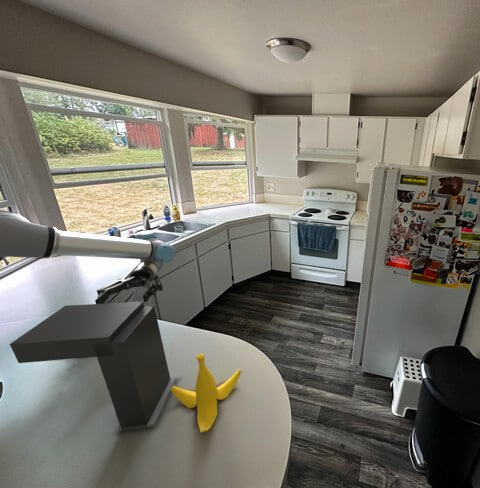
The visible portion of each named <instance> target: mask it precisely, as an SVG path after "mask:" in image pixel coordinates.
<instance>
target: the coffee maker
mask: <svg viewBox="0 0 480 488" xmlns="http://www.w3.org/2000/svg"><path fill="white" fill-rule="evenodd" d="M162 339H163V338H162V335H161V330H160V326H159V321H158V317H157V313H156V308H155V305H146V306H145V305H144V301H128V302H108V303H103V304H96V303H88V304H87V303H86V304H70V305H69V304H68V305H64V306H62V307H61V308H60V309H58V310H57V311H56V312H54V313H52V314H51V315H50V316H48V317H47V318H45V319H44V320H42V321H41V322H39V323H38V324H36V325H35V326H33V327H32V328H31V329H29V330H28V331H26V332H25V333H24V334H22V335H21V336H19V337H18V338H16V339H15V340H14V341H12V342H10V343H9V345H10V348H11V350H12V353H13V354H14V356H15V359H16V361H17V363H18V364H27V363H39V362H50V361H52V362H53V361H63V360H75V359H89V358H96V359H97V361H98V365H99V368H100V370H101V373H102V376H103V379H104V380H103V381H104V382H105V385H106V389H107V391H108V394H109V397H110V401H111V403H112V406H113V409H114V412H115V415H116V418H117V420H118V424H119V427H118V431H119V432H125V431H134V430H141V429H148V428H150V429H151V428H155V427H156V425H157V423H158V421H159V419H160V416H161V414H162V412H163V410H164V408H165V406H166V404H167V402H168V400H169V397H170V395H171V393H172V391H171V388H172V387H173V386H176V383H177V378H176V377H172V378H171V374H170V370H169V366H168V362H167V361H168V360H167V357H166V353H165V348H164V343H163V340H162Z"/></svg>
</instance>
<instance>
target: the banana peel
mask: <svg viewBox="0 0 480 488" xmlns="http://www.w3.org/2000/svg"><path fill="white" fill-rule="evenodd" d="M196 360H197V363H198V372H197V376H196V381H195V391H194V390H188V389H185V388H181V387H178V386H176V385H174V386H173V387H172V388H171V393H172V394H173V395H174V396H175V398H176V399H178V400H179V401H180V403H181V404H183V405H184V406H186V408H188V409H193V408H195V407H197V408H196V409H197V412H196V414H197V415H196V416H197V417H196V421H197V425H198V428H199V431H200V433H204V432H207V431H208V430H210V429H211V428H212V426H213V424H214V423H215V421H216V419H217V416H218V401H219V400H224V399H226V398H228V397H229V395H230V393H231V392H232V391H233V389H234V388H235V386H236V384H237V383H238V381H239V379H240V376H241V374H242V370H241V369H237V371H236V372H235V373H234V374H232V376H231V377H230V378H228V379H227V380H226V381H225V382H224V383H222V384H221V385H219V386H218V387H217V383H216V380H215V378H214V375H213V373H212V372H211V371H210V370H209V368H208V367H207V365H206V362H205V354H204V353H199V354H197V355H196Z"/></svg>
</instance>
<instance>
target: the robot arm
mask: <svg viewBox="0 0 480 488" xmlns="http://www.w3.org/2000/svg"><path fill="white" fill-rule="evenodd" d="M134 237H135V238H127V237H118V236H110V235H99V234H92V233H91V234H90V233H81V232H71V231H63V230H58V229H57V228H56V227H55V226H48V225H41V224H37V223H33V222H31V221H30V220H28V219H27V218H26V217H24V216H23V215H21V214H20V213H17V212H13V211H11V210H3V209H0V262H2V261H3V260H4V259H6V258H8V257H9V258H30V259H31V258H33V259H35V258H36V259H51V258H53V257H54V256H66V257H67V256H70V257H89V258H111V259H131V260H140V264H139V265H138V266H137V267H136V268H135V269H134V270H133V271H132V272H131V273H130V276H129V277H128V278H127V279H123V278H122V277H120V278H117V279H116V280H115V281H113V282H110V283H109V284H106V285H104V286H102V287H101V288H98V289H96V293H97V297H96V299H95V300H94V302H95V304H105V302H106V301H107V300H108V299H110V296H112V295H115V294H117V293H119V292H122V291H124V290H126V291H127V290H130V289H133V288H140V287H141V288H142V287H143V288H144V289H146V290H145V292H144V293H143V295H142V298H143V303H148V301H149V299H150V298H151V296H154V295H155V294H156V293H157V292H158V291H159V292H162V291H163V290H164V289H163V284H162V282H161V281H160V277H159V275H157V274H158V273H159V271H160V270H162V268H163V266H164V265H165V263H169V262H171V261H173V260H174V259H175V257H176V253H177V252H176V251H177V250H176V248H175V247H174V246H173V245H171V244H170V243H167V242H165V241H162V240H160V239H158V236H157V233H156V231H154V230H141V231H138V232H137V233H135V235H134Z"/></svg>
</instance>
